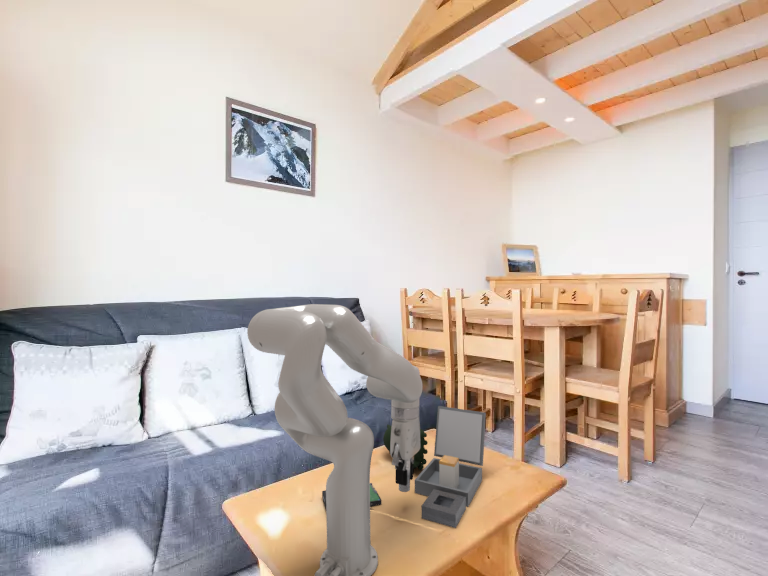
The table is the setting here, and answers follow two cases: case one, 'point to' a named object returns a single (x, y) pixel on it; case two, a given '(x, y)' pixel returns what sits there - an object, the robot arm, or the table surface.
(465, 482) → the case
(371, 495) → the disk drive
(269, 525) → the table surface
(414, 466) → the toy figurine
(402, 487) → the rod
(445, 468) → the block
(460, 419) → the lid
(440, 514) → the socket block
